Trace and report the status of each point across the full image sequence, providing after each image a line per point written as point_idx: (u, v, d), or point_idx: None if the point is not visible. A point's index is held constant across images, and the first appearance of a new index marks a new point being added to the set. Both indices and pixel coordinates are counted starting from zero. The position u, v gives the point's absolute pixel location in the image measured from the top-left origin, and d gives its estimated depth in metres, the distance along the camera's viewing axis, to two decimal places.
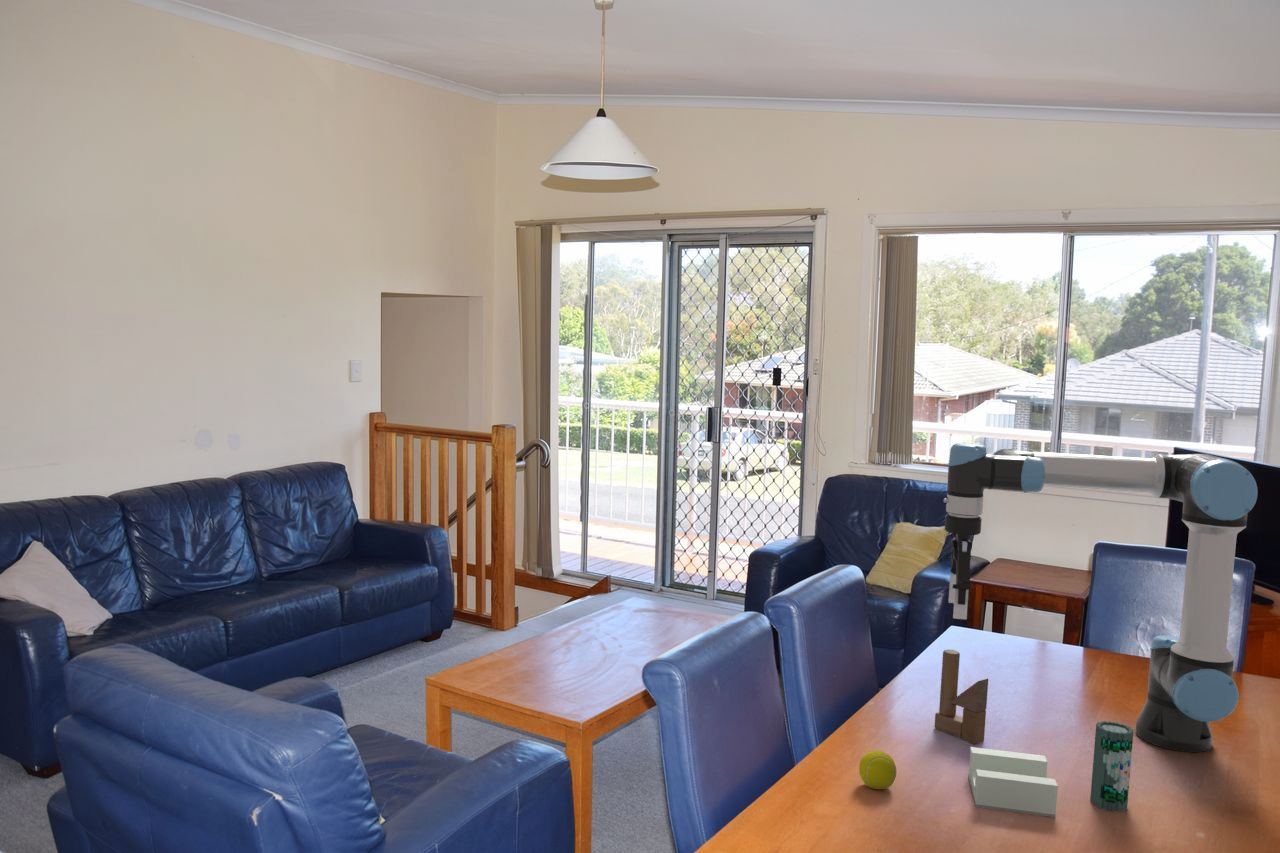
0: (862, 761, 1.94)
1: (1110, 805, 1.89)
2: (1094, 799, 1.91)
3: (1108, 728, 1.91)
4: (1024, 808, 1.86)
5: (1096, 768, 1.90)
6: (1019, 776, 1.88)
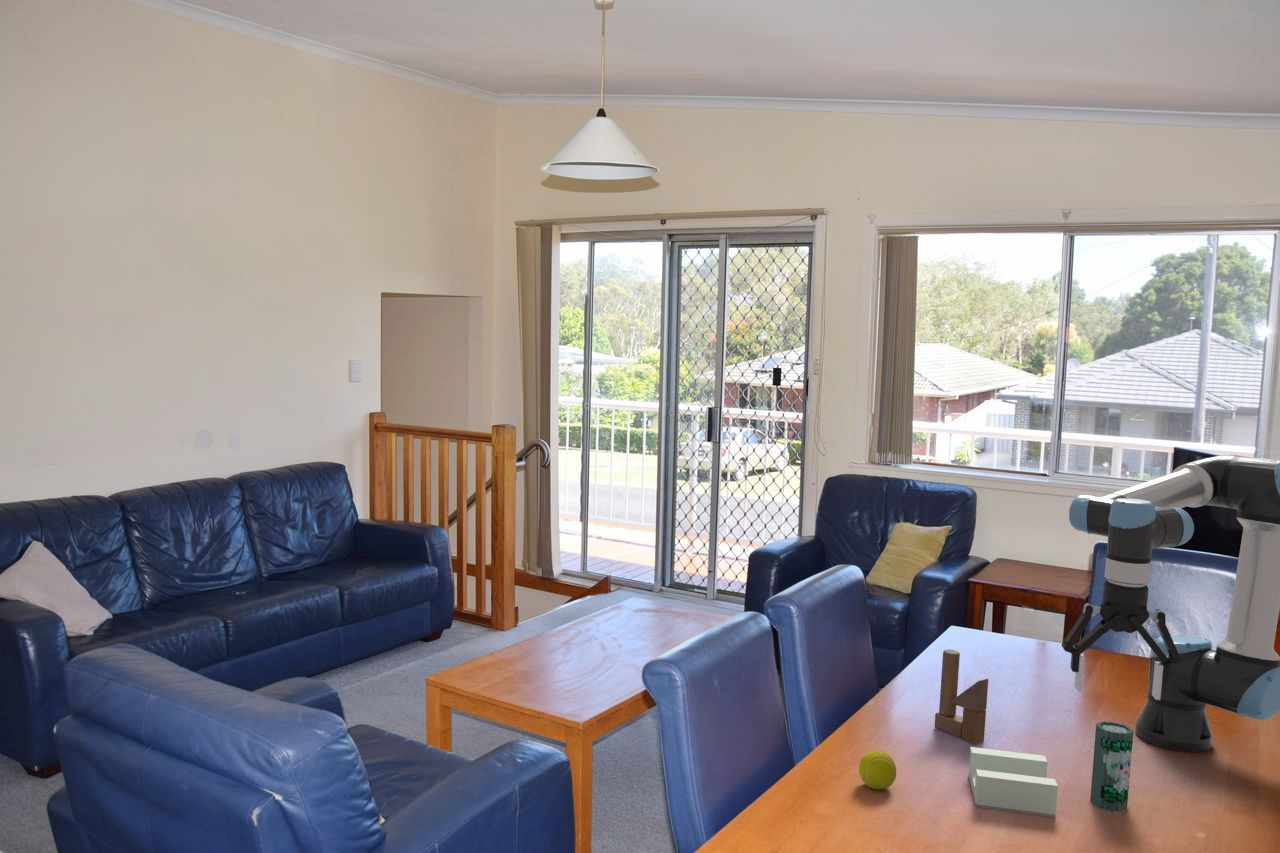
0: (862, 761, 1.94)
1: (1110, 805, 1.89)
2: (1094, 799, 1.91)
3: (1108, 728, 1.91)
4: (1024, 808, 1.86)
5: (1096, 768, 1.90)
6: (1019, 776, 1.88)
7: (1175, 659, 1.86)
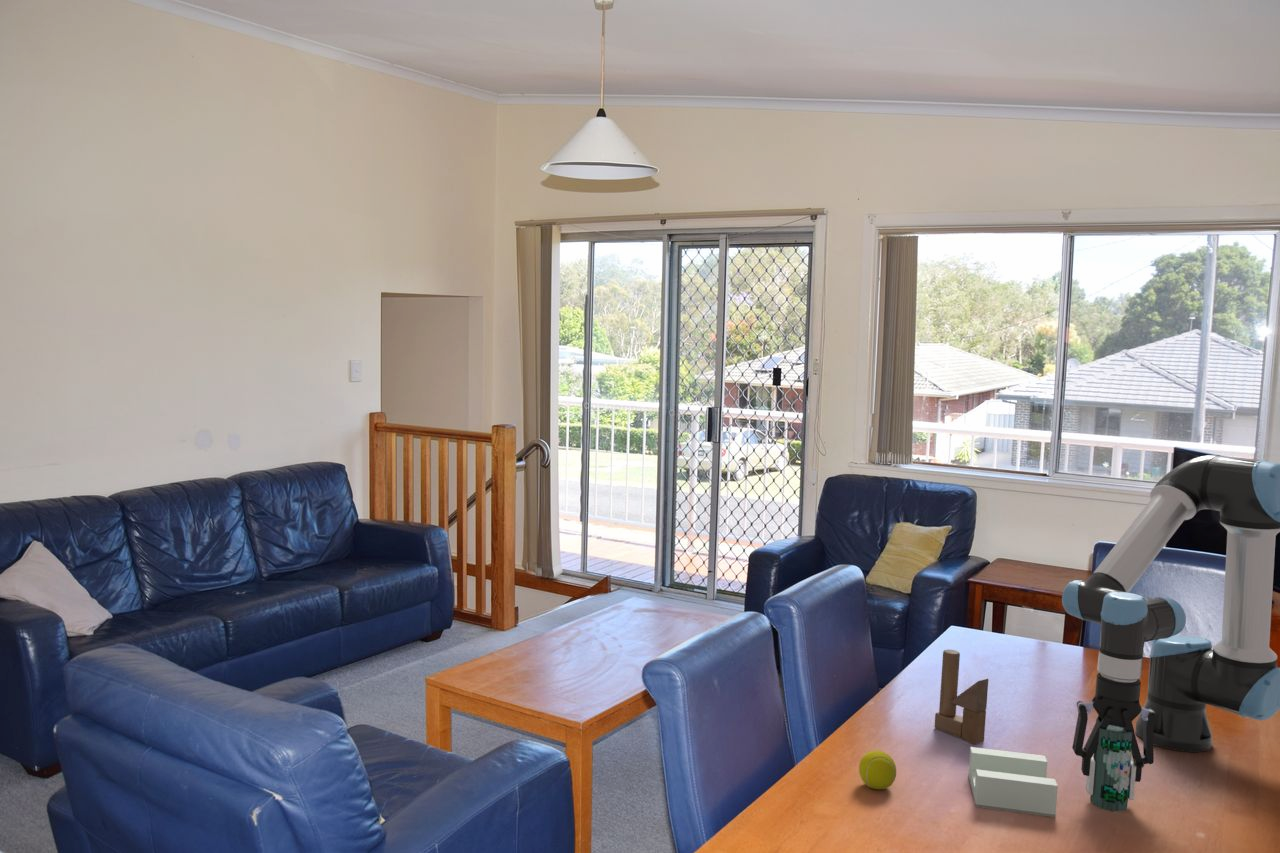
0: (862, 761, 1.94)
1: (1110, 805, 1.89)
2: (1094, 799, 1.91)
3: (1108, 728, 1.91)
4: (1024, 808, 1.86)
5: (1096, 768, 1.90)
6: (1019, 776, 1.88)
7: (1148, 759, 1.88)
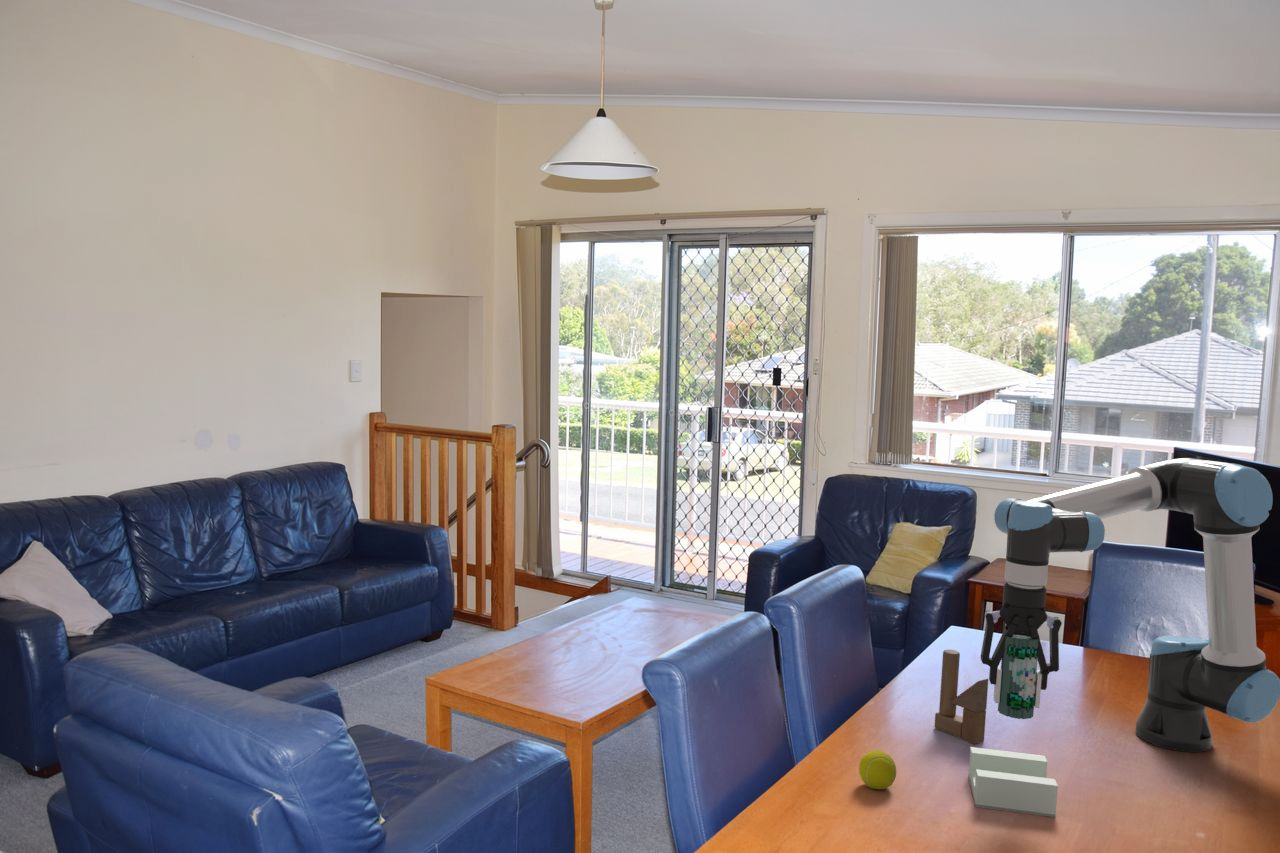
0: (862, 761, 1.94)
1: (1016, 712, 1.89)
2: (1001, 707, 1.91)
3: (1015, 636, 1.91)
4: (1024, 808, 1.86)
5: (1003, 676, 1.91)
6: (1019, 776, 1.88)
7: (1053, 667, 1.89)
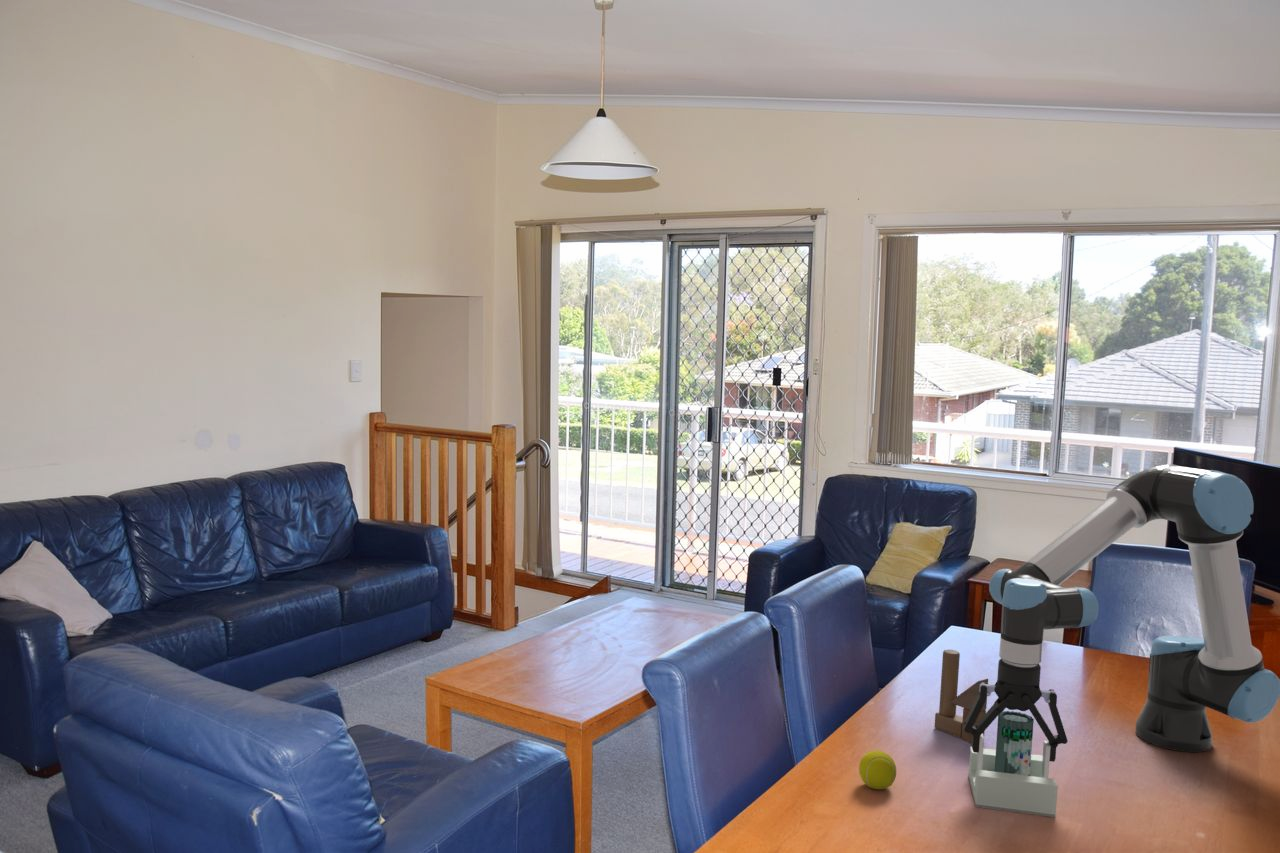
0: (862, 761, 1.94)
1: None
2: None
3: (1010, 717, 1.93)
4: (1024, 808, 1.86)
5: (998, 757, 1.92)
6: (1019, 776, 1.88)
7: (1062, 740, 1.89)
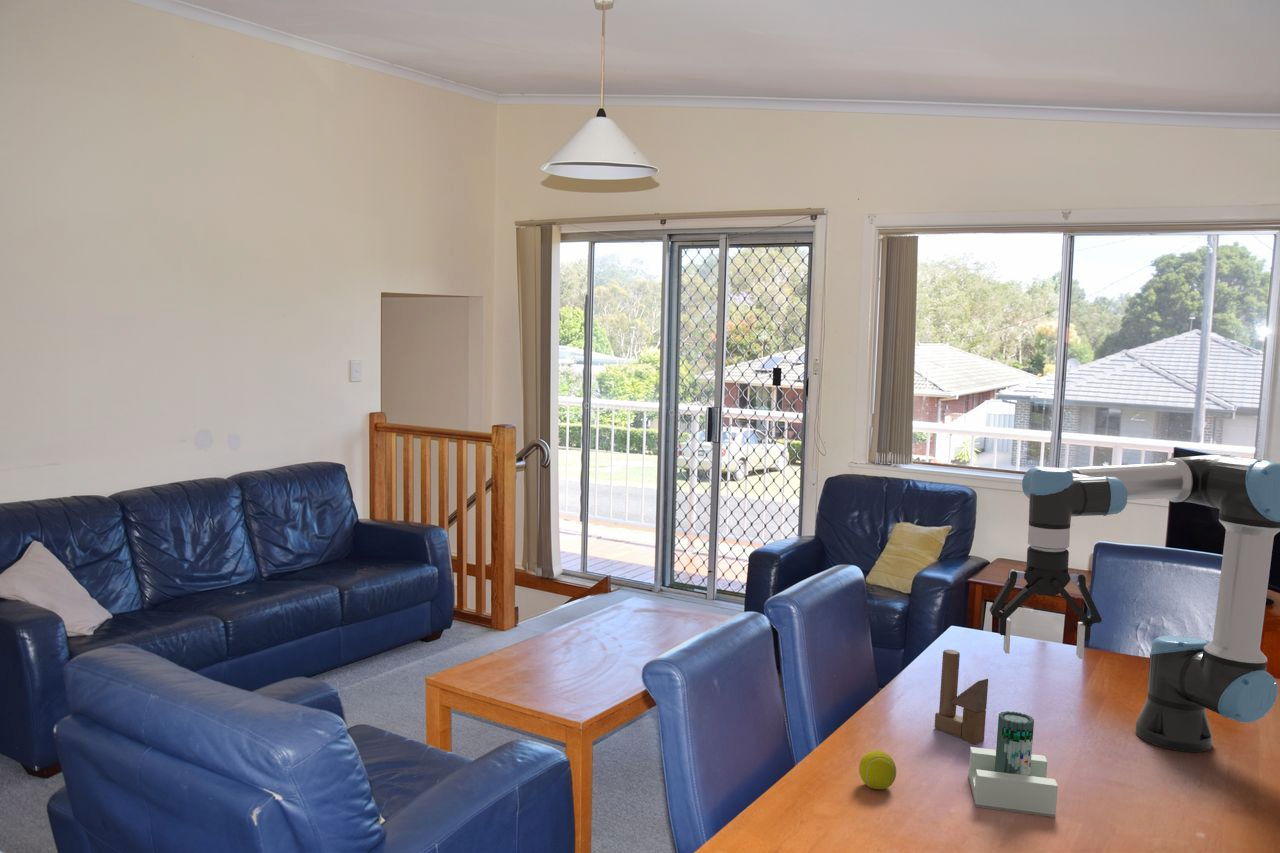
0: (862, 761, 1.94)
1: None
2: None
3: (1010, 717, 1.93)
4: (1024, 808, 1.86)
5: (998, 757, 1.92)
6: (1019, 776, 1.88)
7: (1096, 619, 1.94)
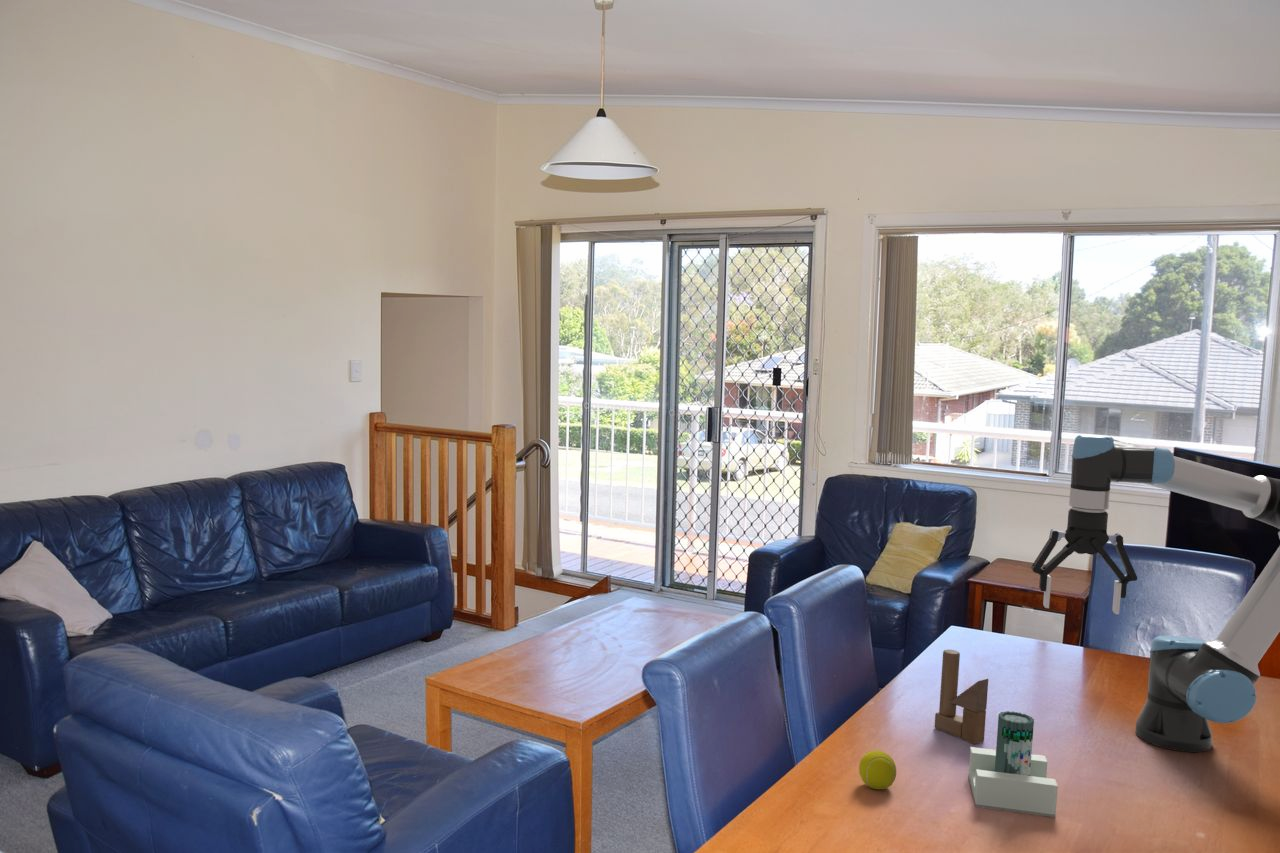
0: (862, 761, 1.94)
1: None
2: None
3: (1010, 718, 1.93)
4: (1024, 808, 1.86)
5: (998, 757, 1.92)
6: (1019, 776, 1.88)
7: (1132, 577, 2.07)
